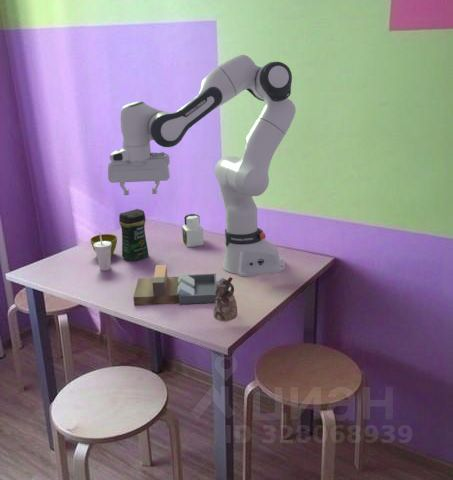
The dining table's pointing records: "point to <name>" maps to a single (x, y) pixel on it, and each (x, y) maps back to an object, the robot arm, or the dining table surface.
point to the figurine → (225, 301)
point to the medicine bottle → (192, 231)
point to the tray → (201, 290)
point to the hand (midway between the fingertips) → (140, 194)
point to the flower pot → (105, 237)
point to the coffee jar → (133, 234)
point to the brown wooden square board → (145, 292)
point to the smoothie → (103, 253)
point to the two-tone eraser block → (160, 280)
